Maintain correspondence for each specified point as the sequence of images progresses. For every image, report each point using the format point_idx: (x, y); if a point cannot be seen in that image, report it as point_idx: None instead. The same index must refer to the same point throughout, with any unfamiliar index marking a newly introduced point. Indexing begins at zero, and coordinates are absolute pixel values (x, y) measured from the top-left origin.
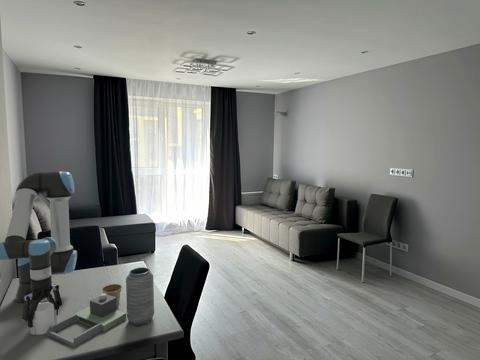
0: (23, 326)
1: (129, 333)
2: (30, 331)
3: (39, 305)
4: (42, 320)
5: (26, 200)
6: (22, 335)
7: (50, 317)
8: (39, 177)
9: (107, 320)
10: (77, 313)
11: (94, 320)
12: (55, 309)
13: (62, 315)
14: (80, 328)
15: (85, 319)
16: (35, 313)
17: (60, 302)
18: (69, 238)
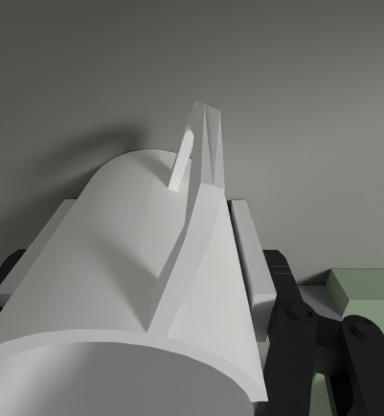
0: (67, 3)
1: None
2: (59, 209)
3: (137, 314)
4: (96, 350)
5: None
6: (17, 165)
7: (162, 359)
8: None
9: None
10: (365, 310)
11: (312, 408)
12: (266, 333)
13: (369, 152)
14: (260, 351)
15: (313, 372)
16: (10, 412)
17: (347, 406)
18: None
